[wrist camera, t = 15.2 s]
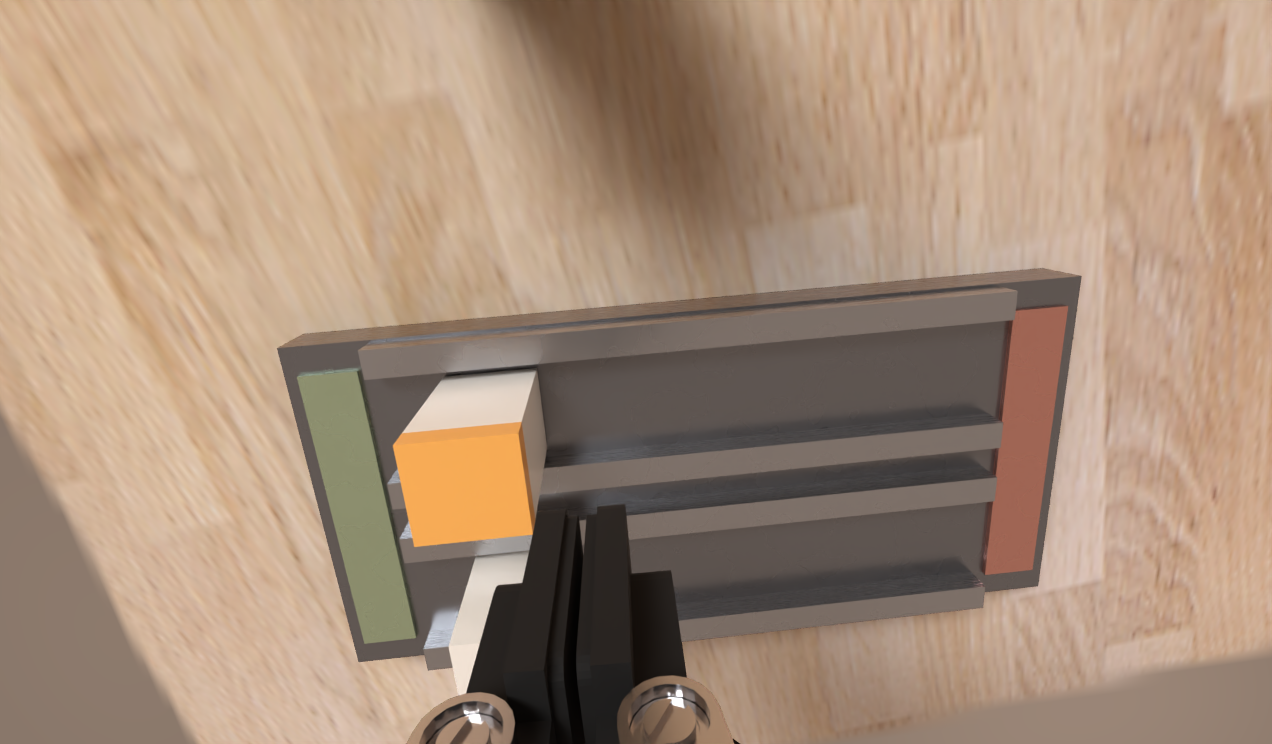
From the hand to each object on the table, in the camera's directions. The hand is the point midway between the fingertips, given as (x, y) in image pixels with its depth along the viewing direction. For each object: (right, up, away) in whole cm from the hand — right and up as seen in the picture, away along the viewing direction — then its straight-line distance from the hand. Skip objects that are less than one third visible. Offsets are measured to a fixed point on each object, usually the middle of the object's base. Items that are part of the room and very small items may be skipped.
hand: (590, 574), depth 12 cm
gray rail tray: (+3, 0, +13) cm, 14 cm away
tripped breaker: (-4, +2, +10) cm, 11 cm away
